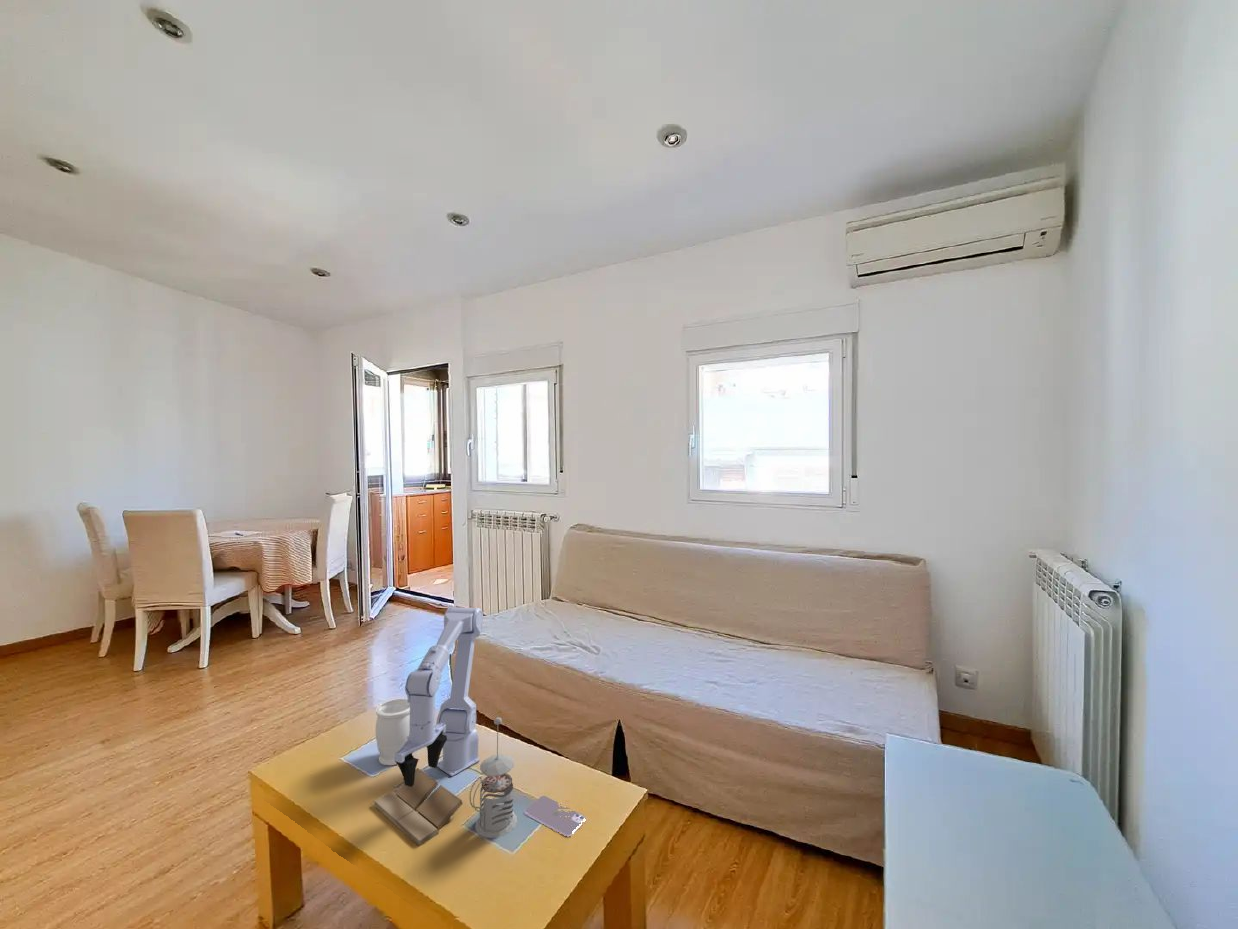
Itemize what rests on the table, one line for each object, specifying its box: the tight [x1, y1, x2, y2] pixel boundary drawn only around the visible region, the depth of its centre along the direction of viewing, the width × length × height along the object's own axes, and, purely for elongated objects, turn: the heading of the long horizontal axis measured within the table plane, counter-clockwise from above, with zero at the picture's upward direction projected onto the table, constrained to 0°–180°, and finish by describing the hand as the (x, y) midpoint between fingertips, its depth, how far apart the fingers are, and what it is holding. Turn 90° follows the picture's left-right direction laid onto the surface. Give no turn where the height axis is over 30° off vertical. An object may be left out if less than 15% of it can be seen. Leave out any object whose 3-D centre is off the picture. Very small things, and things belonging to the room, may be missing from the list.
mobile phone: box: [523, 795, 587, 836], centre depth 117 cm, size 8×1×15 cm
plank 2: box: [416, 784, 464, 831], centre depth 118 cm, size 7×9×1 cm
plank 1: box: [394, 767, 439, 812], centre depth 123 cm, size 7×9×1 cm
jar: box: [375, 697, 410, 766], centre depth 140 cm, size 11×10×15 cm
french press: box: [468, 716, 518, 839], centre depth 115 cm, size 10×12×25 cm
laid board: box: [373, 791, 440, 847], centre depth 116 cm, size 5×21×1 cm, turn 53°
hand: (421, 775), depth 117 cm, fingers open, 7 cm apart
